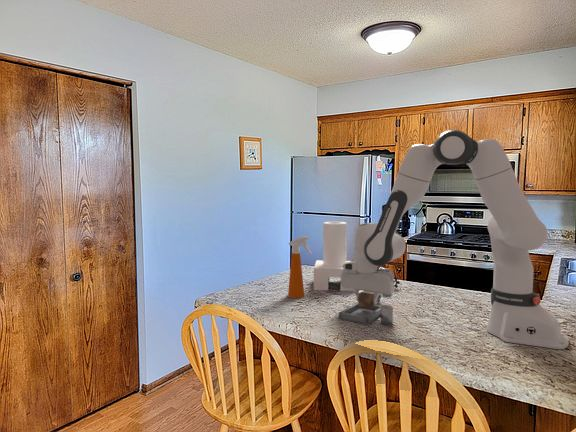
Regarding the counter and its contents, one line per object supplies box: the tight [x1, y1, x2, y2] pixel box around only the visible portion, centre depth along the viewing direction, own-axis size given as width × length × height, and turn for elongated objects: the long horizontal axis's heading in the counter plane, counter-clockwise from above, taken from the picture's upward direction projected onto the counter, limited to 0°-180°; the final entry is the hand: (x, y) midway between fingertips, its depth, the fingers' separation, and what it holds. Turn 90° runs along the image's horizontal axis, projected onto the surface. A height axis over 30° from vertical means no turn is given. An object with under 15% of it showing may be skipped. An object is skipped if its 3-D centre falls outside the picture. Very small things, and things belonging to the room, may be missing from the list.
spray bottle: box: [287, 235, 313, 299], centre depth 169 cm, size 7×11×26 cm, turn 71°
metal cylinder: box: [380, 304, 394, 327], centre depth 137 cm, size 4×4×6 cm
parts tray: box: [338, 301, 382, 326], centre depth 145 cm, size 11×16×2 cm
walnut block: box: [357, 290, 376, 309], centre depth 148 cm, size 4×4×5 cm
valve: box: [383, 276, 401, 296], centre depth 176 cm, size 7×7×12 cm
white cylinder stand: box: [313, 221, 354, 292], centre depth 187 cm, size 19×19×30 cm
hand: (366, 302), depth 148 cm, fingers closed on walnut block, 4 cm apart
